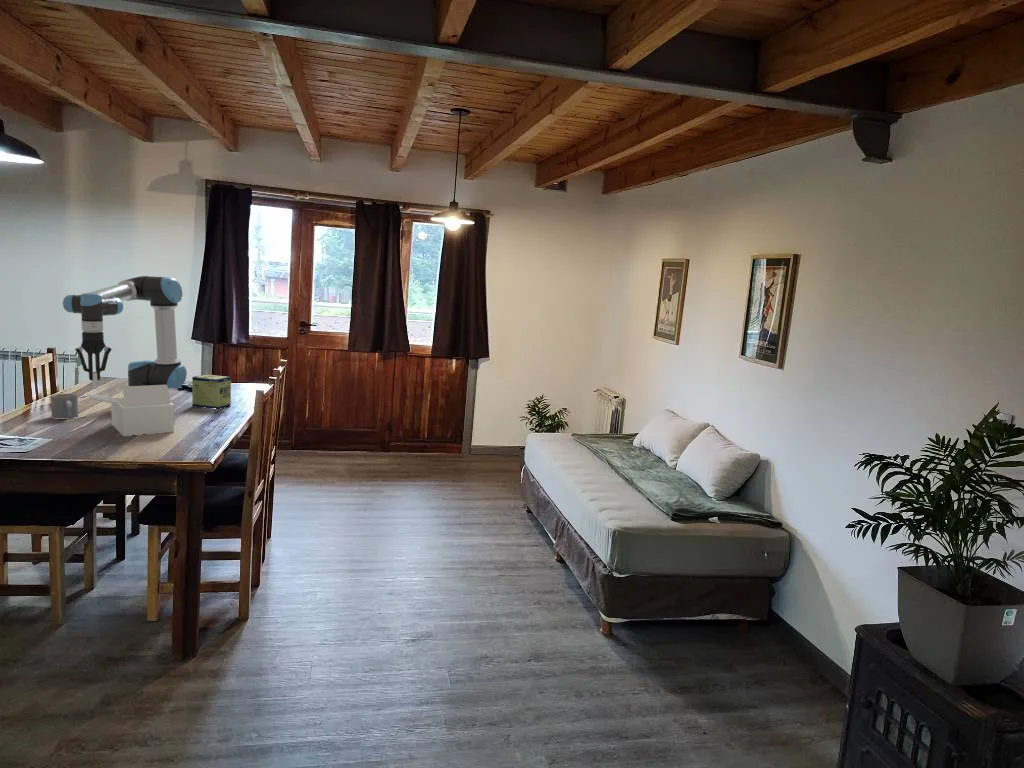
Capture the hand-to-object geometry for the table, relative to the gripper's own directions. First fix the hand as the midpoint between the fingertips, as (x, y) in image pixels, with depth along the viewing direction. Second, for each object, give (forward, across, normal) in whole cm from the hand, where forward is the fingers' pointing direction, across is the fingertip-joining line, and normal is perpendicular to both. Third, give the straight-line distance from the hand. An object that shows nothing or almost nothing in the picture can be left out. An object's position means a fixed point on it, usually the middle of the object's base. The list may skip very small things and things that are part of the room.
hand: (95, 387), depth 284 cm
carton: (+19, +17, -2) cm, 25 cm away
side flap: (+6, +7, 0) cm, 9 cm away
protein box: (+20, +56, +36) cm, 70 cm away
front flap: (+6, +17, -14) cm, 23 cm away
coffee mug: (+19, -7, +31) cm, 37 cm away
